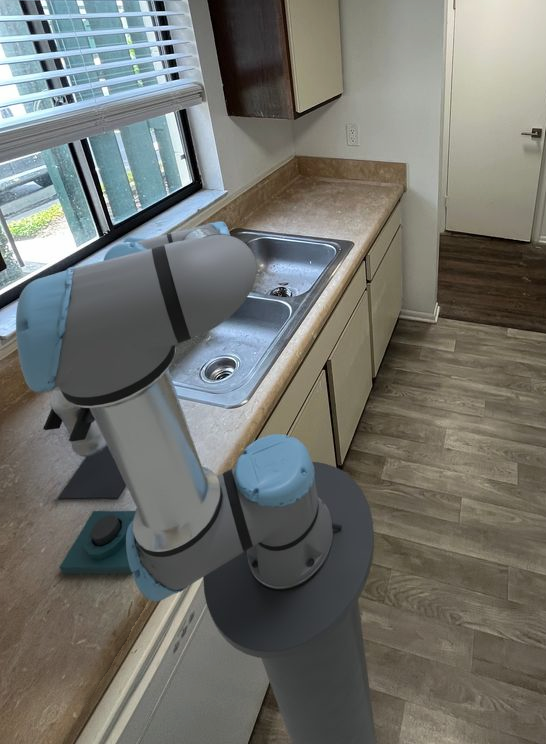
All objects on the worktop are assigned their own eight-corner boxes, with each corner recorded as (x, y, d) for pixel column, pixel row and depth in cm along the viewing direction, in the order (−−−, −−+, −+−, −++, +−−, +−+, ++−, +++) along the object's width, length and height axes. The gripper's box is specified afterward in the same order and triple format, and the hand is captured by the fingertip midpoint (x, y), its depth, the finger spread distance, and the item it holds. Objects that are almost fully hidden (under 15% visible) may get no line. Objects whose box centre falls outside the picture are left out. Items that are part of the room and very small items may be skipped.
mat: (150, 442, 97) (150, 441, 97) (118, 498, 86) (117, 497, 86) (97, 443, 97) (96, 441, 97) (58, 499, 86) (57, 497, 86)
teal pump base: (159, 517, 83) (153, 504, 81) (132, 573, 75) (125, 561, 73) (97, 517, 83) (90, 505, 81) (63, 574, 75) (55, 561, 73)
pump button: (125, 520, 79) (122, 514, 78) (112, 545, 76) (108, 539, 75) (103, 521, 79) (100, 514, 78) (89, 546, 76) (85, 539, 75)
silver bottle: (85, 435, 91) (48, 365, 82) (120, 429, 92) (88, 359, 83) (70, 465, 85) (30, 392, 77) (108, 457, 86) (72, 385, 78)
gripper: (165, 324, 89) (118, 447, 82) (98, 304, 95) (48, 417, 88) (135, 320, 82) (81, 454, 76) (65, 299, 88) (9, 421, 82)
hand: (63, 434), depth 82 cm, fingers closed on silver bottle, 6 cm apart
